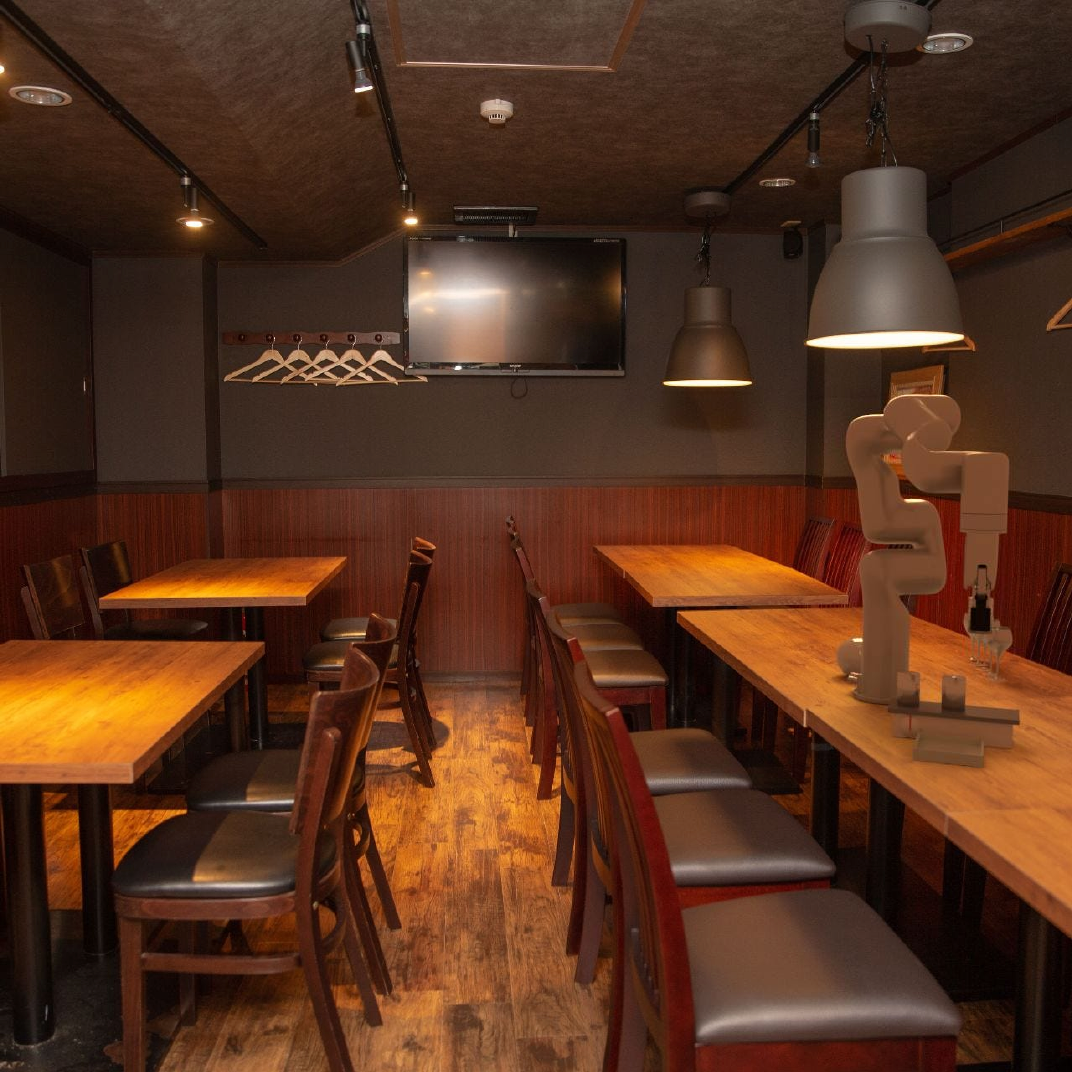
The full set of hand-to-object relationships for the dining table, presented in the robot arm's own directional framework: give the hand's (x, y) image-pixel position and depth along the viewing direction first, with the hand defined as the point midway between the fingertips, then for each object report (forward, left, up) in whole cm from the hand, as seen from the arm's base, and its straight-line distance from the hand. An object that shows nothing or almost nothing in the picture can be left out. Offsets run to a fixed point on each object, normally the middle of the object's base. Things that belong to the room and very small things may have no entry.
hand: (979, 627), depth 184 cm
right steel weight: (0, 0, -1) cm, 1 cm away
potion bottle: (-48, +34, -22) cm, 63 cm away
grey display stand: (-7, +3, -21) cm, 23 cm away
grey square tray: (-1, -7, -21) cm, 23 cm away
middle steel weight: (-7, +3, -16) cm, 18 cm away
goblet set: (-37, +64, -22) cm, 77 cm away
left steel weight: (-13, -1, -16) cm, 21 cm away
